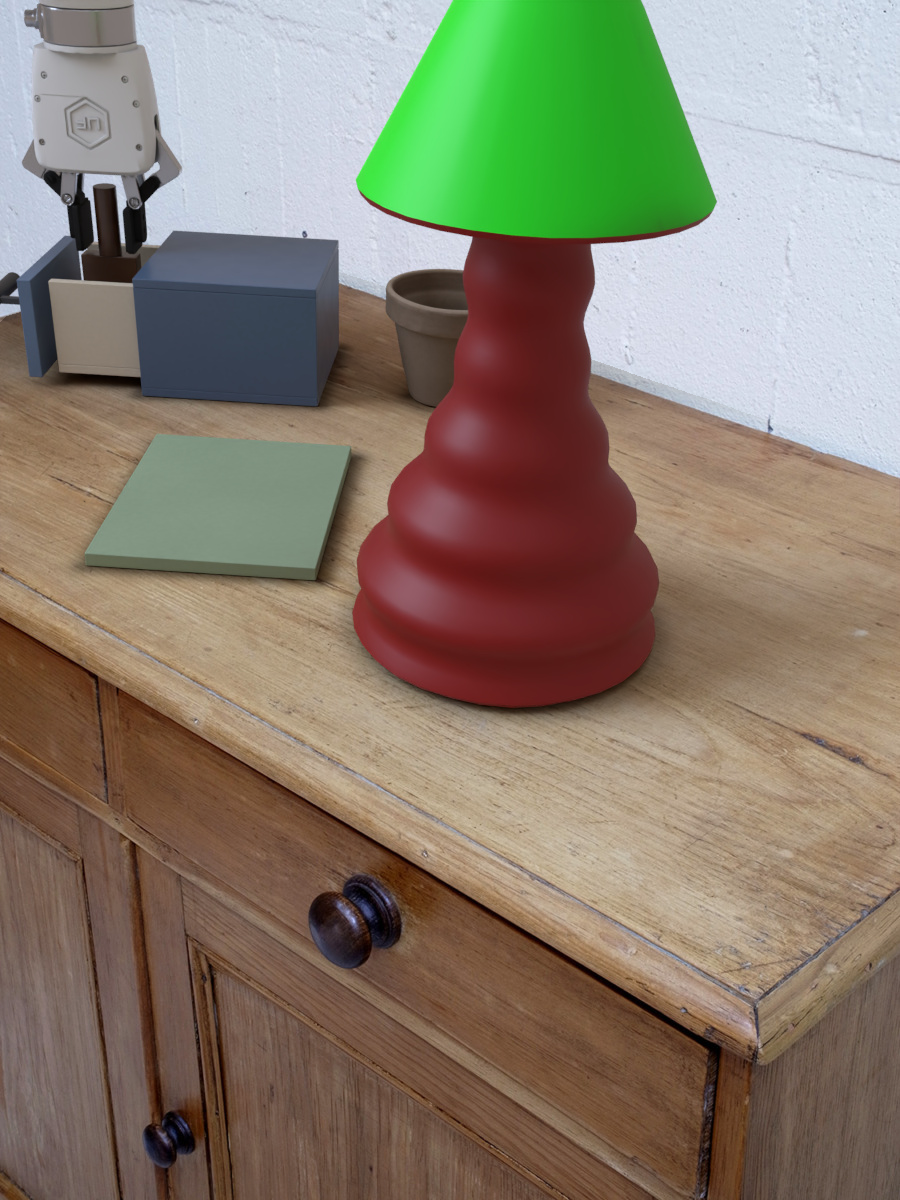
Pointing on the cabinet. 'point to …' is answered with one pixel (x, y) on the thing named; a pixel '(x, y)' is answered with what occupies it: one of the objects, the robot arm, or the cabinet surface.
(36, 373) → the drawer
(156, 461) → the mat
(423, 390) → the flower pot
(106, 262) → the paddle
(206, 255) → the cabinet
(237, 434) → the cabinet surface
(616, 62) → the table lamp
